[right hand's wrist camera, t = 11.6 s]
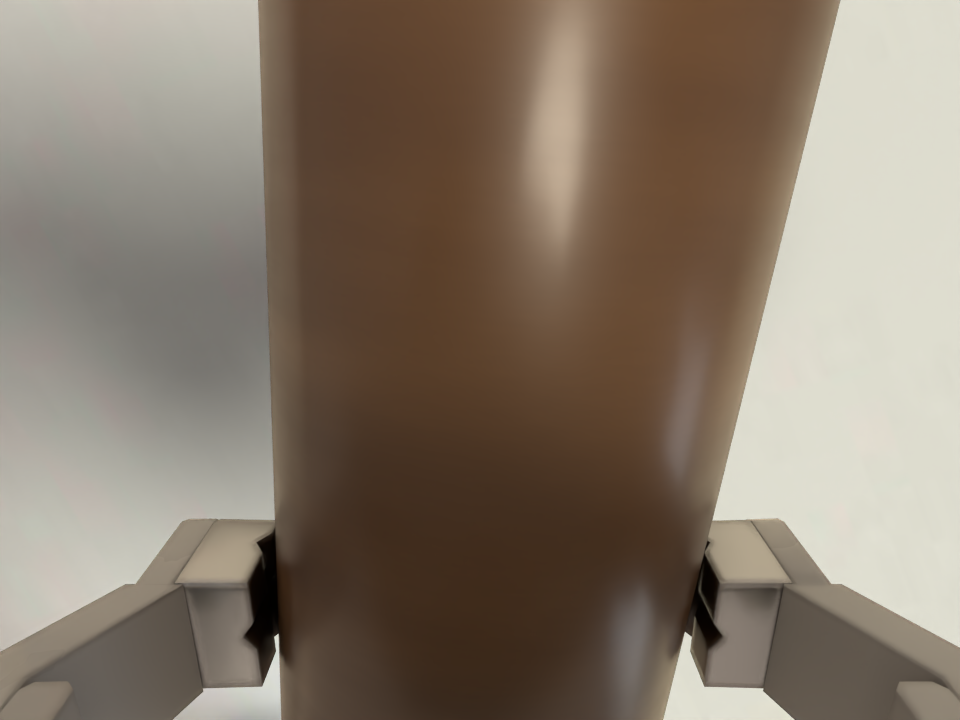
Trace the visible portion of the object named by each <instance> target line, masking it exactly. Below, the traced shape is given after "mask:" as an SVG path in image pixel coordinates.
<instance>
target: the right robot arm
mask: <svg viewBox="0 0 960 720" xmlns="http://www.w3.org/2000/svg"><path fill="white" fill-rule="evenodd" d="M685 632H686V633H688V634H689V635H690V636H692V642H691V649H690V652H691V654H692V657H693V659H694V662H695V664H696V667H697V669H698V672H699V674H700V677H701V679H702V682H703V684H704V687H739V688H764V690H763V691H764V692H765V693H766V694H767V695H768V696H769V697H770V698H772V699H773V700H774V701H775V702H776V703H777V704H778V705H779V706H780V707H781V708H783V709H784V710H785V711H786V712H787V713H788V714H789V715H790V716H791V717H792V718H794V719H795V720H960V648H959V647H957V646H955V645H953V644H952V643H950V642H948V641H946V640H944V639H942V638H940V637H939V636H937V635H935V634H933V633H931V632H929V631H927V630H926V629H924V628H922V627H920V626H918V625H916V624H914V623H913V622H911V621H909V620H907V619H905V618H903V617H901V616H900V615H898V614H896V613H894V612H892V611H890V610H888V609H887V608H885V607H883V606H881V605H879V604H877V603H875V602H874V601H872V600H870V599H868V598H866V597H864V596H862V595H861V594H859V593H857V592H855V591H853V590H851V589H849V588H848V587H846V586H844V585H842V584H831V583H830V582H829V580H828V579H827V578H826V576H825V575H824V574H823V572H822V571H821V570H820V568H819V567H818V566H817V565H816V563H815V562H814V561H813V559H812V558H811V557H810V555H809V554H808V553H807V551H806V550H805V549H804V547H803V546H802V545H801V543H800V542H799V541H798V540H797V538H796V537H795V536H794V534H793V533H792V532H791V530H790V529H789V528H788V526H787V525H786V524H785V522H783V521H782V520H780V519H778V518H776V519H747V520H722V521H712V523H711V527H710V531H709V536H708V540H707V544H706V548H705V552H704V556H703V560H702V564H701V568H700V572H699V576H698V580H697V584H696V588H695V592H694V596H693V600H692V605H691V609H690V613H689V617H688V621H687V625H686V629H685ZM278 633H279V628H278V597H277V566H276V535H275V520H242V519H220V520H218V519H188V520H185V521H182V522H181V523H180V525H179V526H178V527H177V529H176V530H175V532H174V533H173V534H172V536H171V537H170V538H169V540H168V541H167V542H166V544H165V545H164V546H163V548H162V549H161V550H160V552H159V553H158V554H157V556H156V557H155V559H154V560H153V561H152V563H151V564H150V565H149V567H148V568H147V569H146V571H145V572H144V573H143V575H142V576H141V577H140V579H139V580H138V581H137V583H136V584H125V585H123V586H121V587H119V588H118V589H116V590H114V591H112V592H110V593H108V594H107V595H105V596H103V597H101V598H99V599H97V600H95V601H94V602H92V603H90V604H88V605H86V606H84V607H83V608H81V609H79V610H77V611H75V612H73V613H71V614H70V615H68V616H66V617H64V618H62V619H60V620H59V621H57V622H55V623H53V624H51V625H49V626H47V627H46V628H44V629H42V630H40V631H38V632H36V633H35V634H33V635H31V636H29V637H27V638H25V639H23V640H22V641H20V642H18V643H16V644H14V645H12V646H11V647H9V648H7V649H5V650H3V651H1V652H0V720H172V719H174V718H175V717H176V716H177V715H178V714H179V713H180V712H181V711H182V710H183V709H184V708H186V707H187V706H188V705H189V704H190V703H191V702H192V701H193V700H194V699H195V698H197V697H198V696H199V695H200V694H201V693H202V692H203V688H227V687H261V686H263V683H264V680H265V678H266V675H267V673H268V670H269V668H270V665H271V662H272V660H273V657H274V655H275V652H276V648H275V640H274V636H276V635H277V634H278Z"/></svg>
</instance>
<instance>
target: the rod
mask: <svg viewBox="0 0 960 720" xmlns="http://www.w3.org/2000/svg"><path fill="white" fill-rule="evenodd" d="M839 4H840V0H258V10H259V41H260V72H261V103H262V134H263V164H264V195H265V226H266V257H267V288H268V319H269V350H270V381H271V411H272V442H273V473H274V504H275V535H276V566H277V597H278V628H279V658H280V689H281V720H663V718H664V714H665V710H666V706H667V702H668V698H669V694H670V690H671V686H672V682H673V678H674V674H675V669H676V665H677V661H678V657H679V653H680V649H681V645H682V641H683V637H684V633H685V629H686V625H687V621H688V617H689V613H690V609H691V605H692V600H693V596H694V592H695V588H696V584H697V580H698V576H699V572H700V568H701V564H702V560H703V556H704V552H705V548H706V544H707V540H708V536H709V531H710V527H711V523H712V519H713V515H714V511H715V507H716V503H717V499H718V495H719V491H720V487H721V483H722V479H723V475H724V471H725V467H726V462H727V458H728V454H729V450H730V446H731V442H732V438H733V434H734V430H735V426H736V422H737V418H738V414H739V410H740V406H741V402H742V398H743V393H744V389H745V385H746V381H747V377H748V373H749V369H750V365H751V361H752V357H753V353H754V349H755V345H756V341H757V337H758V333H759V329H760V324H761V320H762V316H763V312H764V308H765V304H766V300H767V296H768V292H769V288H770V284H771V280H772V276H773V272H774V268H775V264H776V260H777V255H778V251H779V247H780V243H781V239H782V235H783V231H784V227H785V223H786V219H787V215H788V211H789V207H790V203H791V199H792V195H793V191H794V186H795V182H796V178H797V174H798V170H799V166H800V162H801V158H802V154H803V150H804V146H805V142H806V138H807V134H808V130H809V126H810V122H811V117H812V113H813V109H814V105H815V101H816V97H817V93H818V89H819V85H820V81H821V77H822V73H823V69H824V65H825V61H826V57H827V53H828V48H829V44H830V40H831V36H832V32H833V28H834V24H835V20H836V16H837V12H838V8H839Z"/></svg>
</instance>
